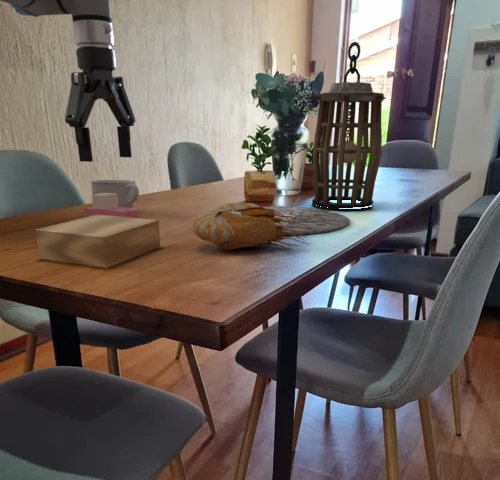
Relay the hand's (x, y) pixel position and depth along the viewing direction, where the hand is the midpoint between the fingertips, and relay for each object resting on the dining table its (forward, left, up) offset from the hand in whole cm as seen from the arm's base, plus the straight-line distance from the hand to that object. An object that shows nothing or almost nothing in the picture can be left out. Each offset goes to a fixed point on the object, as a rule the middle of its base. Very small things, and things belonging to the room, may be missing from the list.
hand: (107, 159), depth 110 cm
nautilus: (+38, -9, -14) cm, 41 cm away
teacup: (-7, +12, -14) cm, 20 cm away
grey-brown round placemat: (+33, +20, -14) cm, 41 cm away
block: (+15, -23, -14) cm, 31 cm away
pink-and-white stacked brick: (0, 0, -14) cm, 14 cm away
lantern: (+42, +47, -14) cm, 65 cm away
